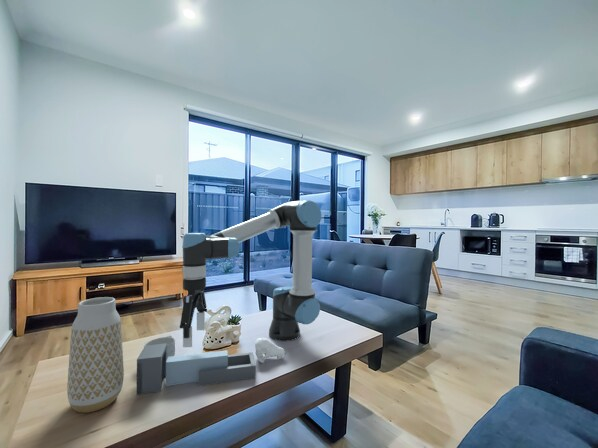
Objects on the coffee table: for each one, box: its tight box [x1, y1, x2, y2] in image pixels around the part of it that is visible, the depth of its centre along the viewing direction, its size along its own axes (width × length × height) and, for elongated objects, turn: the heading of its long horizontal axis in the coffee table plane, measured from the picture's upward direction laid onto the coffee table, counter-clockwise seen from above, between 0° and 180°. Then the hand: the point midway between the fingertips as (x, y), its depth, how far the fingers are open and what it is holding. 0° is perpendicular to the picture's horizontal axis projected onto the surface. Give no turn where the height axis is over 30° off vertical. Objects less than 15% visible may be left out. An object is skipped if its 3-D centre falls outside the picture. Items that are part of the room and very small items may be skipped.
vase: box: [66, 296, 125, 414], centre depth 83 cm, size 14×14×31 cm
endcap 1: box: [136, 343, 167, 395], centre depth 93 cm, size 7×10×11 cm
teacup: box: [143, 334, 176, 358], centre depth 109 cm, size 14×11×8 cm
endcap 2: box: [198, 351, 257, 387], centre depth 100 cm, size 19×10×4 cm, turn 106°
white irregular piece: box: [254, 337, 285, 364], centre depth 111 cm, size 6×8×12 cm
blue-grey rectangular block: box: [165, 349, 229, 387], centre depth 97 cm, size 20×4×8 cm, turn 106°
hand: (194, 337), depth 97 cm, fingers open, 13 cm apart
